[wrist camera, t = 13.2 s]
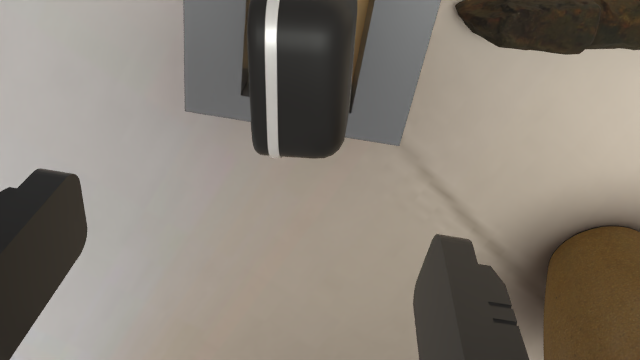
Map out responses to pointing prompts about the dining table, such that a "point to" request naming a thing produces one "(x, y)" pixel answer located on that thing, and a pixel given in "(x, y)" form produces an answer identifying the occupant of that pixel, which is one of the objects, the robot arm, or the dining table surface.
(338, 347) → the dining table surface
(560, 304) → the plant pot
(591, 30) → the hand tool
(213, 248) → the dining table surface
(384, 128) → the dock
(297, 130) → the battery charger
